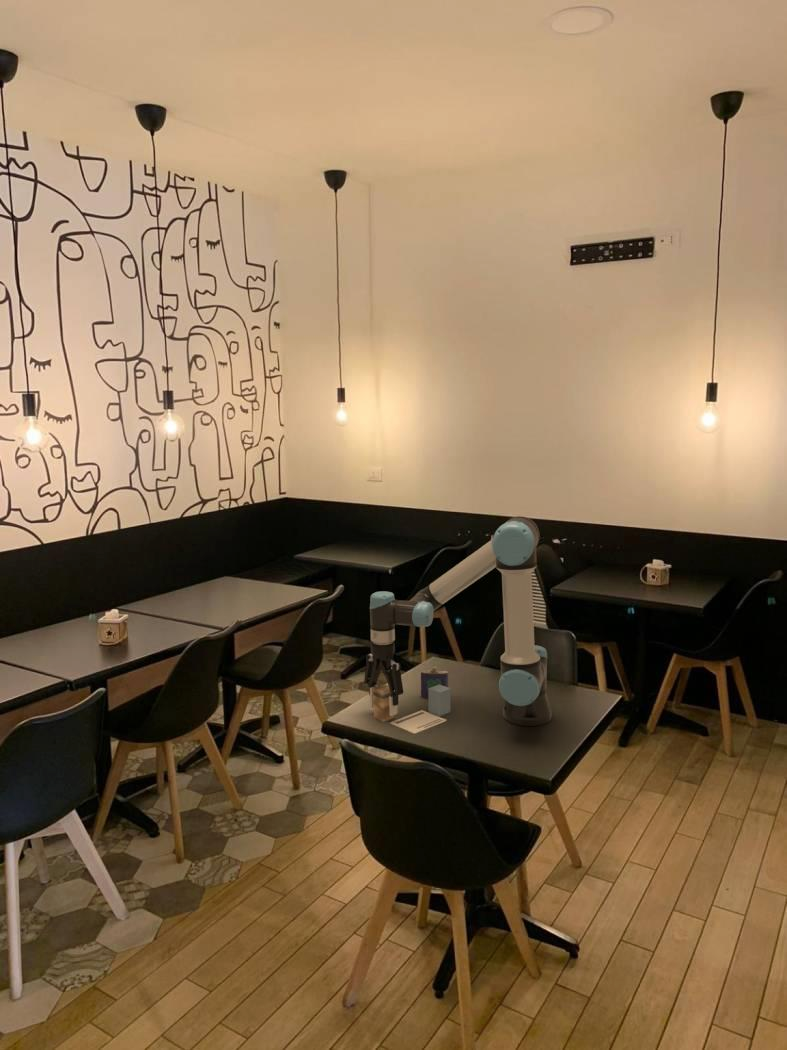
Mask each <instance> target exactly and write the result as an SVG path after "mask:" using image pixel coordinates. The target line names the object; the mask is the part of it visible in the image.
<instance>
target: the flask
mask: <svg viewBox="0 0 787 1050" xmlns="http://www.w3.org/2000/svg"><path fill="white" fill-rule="evenodd" d="M437 668H438V667H437V666H433V667H432V669H431V670H430V669H428V670H427V669H425V670H421V672H420V696H421V698H422V699H428V688H431V687H434V686H436V685H442V686H445V687H448V688H449V672H448V671H447V670H438V669H437Z"/></svg>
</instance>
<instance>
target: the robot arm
mask: <svg viewBox="0 0 787 1050" xmlns="http://www.w3.org/2000/svg"><path fill="white" fill-rule="evenodd" d="M539 541H540V530H539V528H538V526H537V524H536V523H535V522H534V521H533V520H532V519H530V518H529V517H527V516H521V515H519V516H514V517H511V518H509V519H508V520H506V521H505V523H503V524H501V525H500V526H499V527H498V528H497V530H496V531H495V532H494V534H492V535H491V538H490V540H489V541H488V542H486V543H485V544H484V545H482V546H481V547H480V548H478V549H477V550H476V551H474V552H473V553H471V554H470V555H468V556H467V557H466V558H465V559H462V561H460V562H459V563H457V564H456V565H455V566H454V567H452V568H450V569H449V570H447V572H445V573H444V574H442V575H441V576H439V577H438V578H437V579H435V580H434V581H432V582H431V583H430V584H429V585H428V586H426V587H425V588H423V589H420V590H419V591H418V592H417V593H416V594H415V595H414V596H413V597H412V598H411V599H410V600H400V599H395V594H394V593H393V592H391V591H387V590H386V591H376V592H374V593H372V594H371V595H370V599H369V601H370V603H369V615H370V617H369V619H370V641H371V642H370V653H369V654H366V655H365V660H366V661H365V662H366V663H365V664H366V665H365V671H364V672H365V673H364V679H363V682H364V684H365V685H367V687H368V695H369V701H370V703H369V705H370V706H369V707H370V708H371V709H372V708H373V709H374V697H373V688H375V687H378V686H379V685H378V683H377V682H378V679H379V677H380V674H381V672H382V673H383V676H385V677H386V678H385V679H386V681H387V682H386V683H387V684H388V685H387V686H389V689H390V692H391V695H389V708H390V716H393V715H394V716H395V715H397V714H398V708H399V707H398V705H399V695H403V694H404V687H403V680H402V673H401V667H402V665H401V663H400V662H396V661H395V659H394V655H395V652H396V647H395V646H396V644H395V643H396V642H395V640H396V632H395V631H396V630H395V627H396V626H397V625H398V626H399V625H401V626H409V627H419V628H420V627H429V626H431V625H432V623H433V620H434V613H435V612H434V611H436V610H438V608H440V607H442V605H444V604H445V603H447V602H448V601H449V600H451V599H452V598H454V597H455V596H457V595H458V594H459V593H461V592H462V591H463V590H465V589H467V588H468V587H469V586H471V585H472V584H474V583H475V582H476V581H478V580H480V579H481V578H482V577H484V576H485V575H487V574H488V573H489V572H491V571H492V570H494V569H495V568H496V569H497V570H498V571H499V572H500V573H501V582H502V583H501V585H502V586H501V587H502V607H503V630H504V631H503V632H504V649H505V650H504V653H503V654H502V655H500V678H499V681H498V691H499V693H500V695H501V697H502V698H503V700H505V701H504V705H503V708H502V717H503V719H504V720H506V721H508V722H509V723H511V724H513V725H518V726H526V727H534V726H535V727H536V726H537V727H538V726H542V725H545V724H548V723H549V722H551V720H552V715H553V714H552V713H553V711H552V708H551V706H550V703H549V702H550V701H549V699H548V696H547V680H548V679H547V677H548V676H547V673H548V672H547V671H548V670H547V667H548V666H547V665H548V662H547V660H548V652H547V649H546V648H545V647H543V646H540V645H535V626H534V623H535V622H534V605H533V604H534V601H533V599H534V598H533V578H532V577H533V575H532V573H533V571H534V570H535V569H536V568H537V567H538V566H537V546H538V544H539Z"/></svg>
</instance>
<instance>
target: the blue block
mask: <svg viewBox="0 0 787 1050" xmlns="http://www.w3.org/2000/svg"><path fill="white" fill-rule="evenodd" d="M451 690H452V689H451V687H449V686H448V687H445V686H442V685H436V686H434V687H431V688H428V698H427V699H428V713H430V714H433V715H435V716H438V717H442V716H444V715H446V714H450V713H451V712H452V711H451V706H452V705H451V702H452V701H451V692H452V691H451Z"/></svg>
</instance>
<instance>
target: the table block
mask: <svg viewBox="0 0 787 1050" xmlns="http://www.w3.org/2000/svg"><path fill="white" fill-rule="evenodd" d="M377 686H378V687H375V688H373V697H374V707H373V719H375V720H376V721H377V720H378V721H380V722H382V723H385V722H388V721H390V720H392V719H394V718H395V715H393V716H390V708H389V695H391V692H390V689H389V685H387V684H380V685H377Z"/></svg>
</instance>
